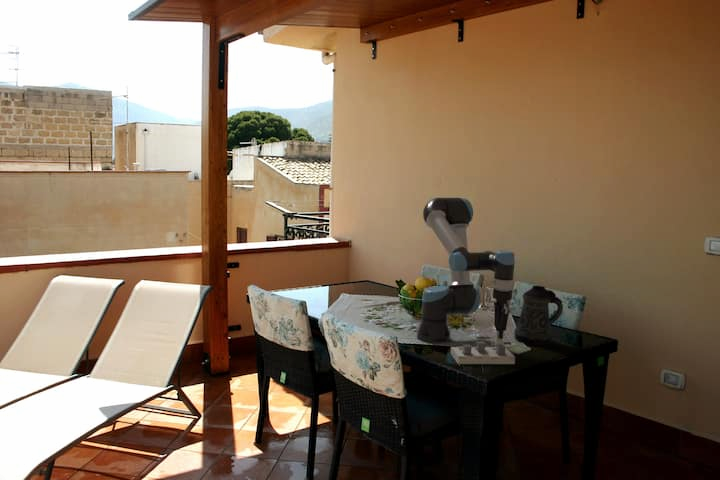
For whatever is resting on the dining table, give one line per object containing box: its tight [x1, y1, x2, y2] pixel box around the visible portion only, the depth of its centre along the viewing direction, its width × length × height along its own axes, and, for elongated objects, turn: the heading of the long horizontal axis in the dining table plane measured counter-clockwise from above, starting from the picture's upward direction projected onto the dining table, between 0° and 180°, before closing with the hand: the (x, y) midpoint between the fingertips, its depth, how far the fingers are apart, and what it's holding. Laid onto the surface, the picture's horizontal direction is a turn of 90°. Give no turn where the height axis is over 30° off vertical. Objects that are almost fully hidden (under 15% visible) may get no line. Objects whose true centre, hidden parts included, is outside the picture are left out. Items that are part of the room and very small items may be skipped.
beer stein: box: [514, 285, 564, 346], centre depth 271 cm, size 16×19×25 cm
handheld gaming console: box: [490, 339, 532, 355], centre depth 259 cm, size 10×2×15 cm
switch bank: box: [450, 346, 516, 365], centre depth 243 cm, size 13×23×3 cm, turn 95°
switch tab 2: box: [475, 340, 486, 353], centre depth 245 cm, size 4×3×4 cm
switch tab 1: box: [462, 344, 473, 356], centre depth 240 cm, size 4×3×4 cm
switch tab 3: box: [496, 345, 506, 356], centre depth 241 cm, size 4×3×4 cm
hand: (498, 345), depth 243 cm, fingers closed
